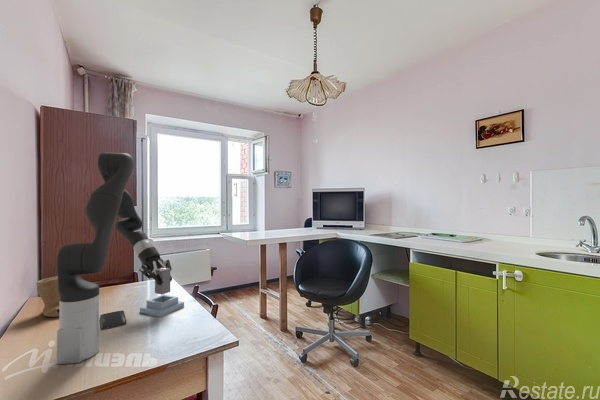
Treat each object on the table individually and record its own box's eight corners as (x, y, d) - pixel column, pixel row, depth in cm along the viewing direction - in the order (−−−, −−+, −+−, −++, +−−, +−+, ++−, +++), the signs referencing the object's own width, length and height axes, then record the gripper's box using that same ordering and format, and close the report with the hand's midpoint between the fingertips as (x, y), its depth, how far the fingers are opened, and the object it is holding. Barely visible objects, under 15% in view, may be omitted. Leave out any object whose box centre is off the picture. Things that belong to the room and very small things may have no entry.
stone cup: (36, 311, 114) (37, 275, 114) (73, 304, 122) (73, 271, 122) (35, 322, 103) (35, 283, 103) (75, 314, 111) (76, 277, 111)
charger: (170, 291, 117) (170, 267, 117) (162, 294, 113) (162, 269, 113) (163, 290, 118) (163, 266, 119) (154, 293, 115) (155, 268, 115)
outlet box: (184, 306, 119) (184, 296, 119) (160, 317, 108) (160, 305, 108) (164, 302, 123) (164, 292, 123) (139, 312, 112) (139, 301, 112)
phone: (123, 310, 113) (126, 322, 101) (123, 312, 113) (126, 325, 101) (99, 314, 108) (100, 328, 96) (99, 317, 108) (100, 331, 96)
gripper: (135, 248, 112) (155, 281, 107) (164, 244, 125) (183, 272, 120) (126, 260, 114) (146, 293, 109) (156, 254, 127) (175, 283, 123)
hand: (166, 282), depth 115 cm, fingers closed on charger, 4 cm apart
